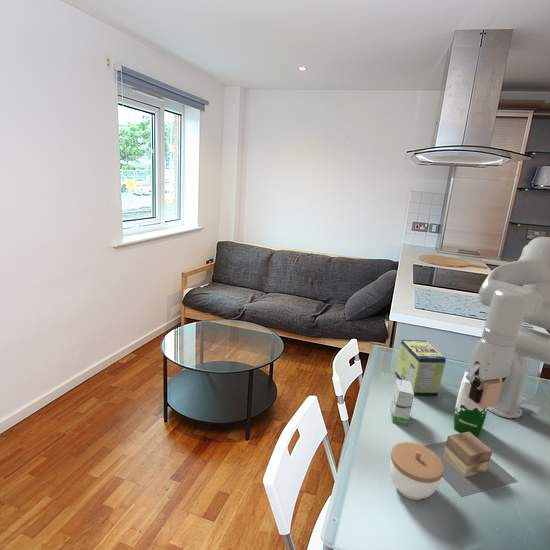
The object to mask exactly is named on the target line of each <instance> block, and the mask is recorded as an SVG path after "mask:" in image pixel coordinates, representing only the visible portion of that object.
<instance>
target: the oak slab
mask: <svg viewBox="0 0 550 550" xmlns="http://www.w3.org/2000/svg"><path fill="white" fill-rule="evenodd" d="M443 457H444V458H445V459H446V460H447V461H448V462H449V463H450V464H451V465H452V466H453V467H454V468H455V469H456V470H457V471H458V472H459V473H460V474H461V475H463V476H464V477H467V476H471V475H475V474H479V473H483V472H486V471H487V468H488V464H489V462H485V463H480V464H476V465H472V466H468V467H467V466H466V465H465V464H464V463H463V462H462V461H461V460H460V459H459V458H458V457H456V456H455V455H454V454H453V453H452V452H451V451H450V450H449V449H448V448H447V447H446V446H445V449H444V453H443Z"/></svg>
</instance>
